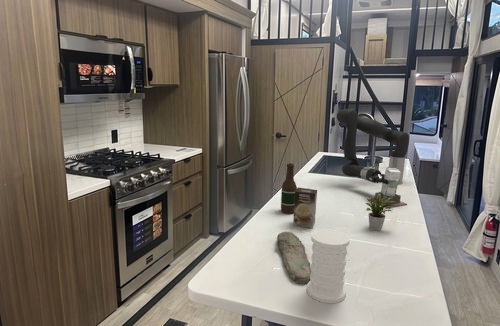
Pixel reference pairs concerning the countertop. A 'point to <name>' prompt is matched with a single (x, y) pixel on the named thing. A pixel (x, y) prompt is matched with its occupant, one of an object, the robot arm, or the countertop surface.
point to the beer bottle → (288, 191)
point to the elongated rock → (294, 257)
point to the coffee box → (305, 207)
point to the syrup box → (390, 182)
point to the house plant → (377, 212)
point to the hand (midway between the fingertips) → (393, 181)
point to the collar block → (395, 199)
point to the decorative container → (328, 266)
